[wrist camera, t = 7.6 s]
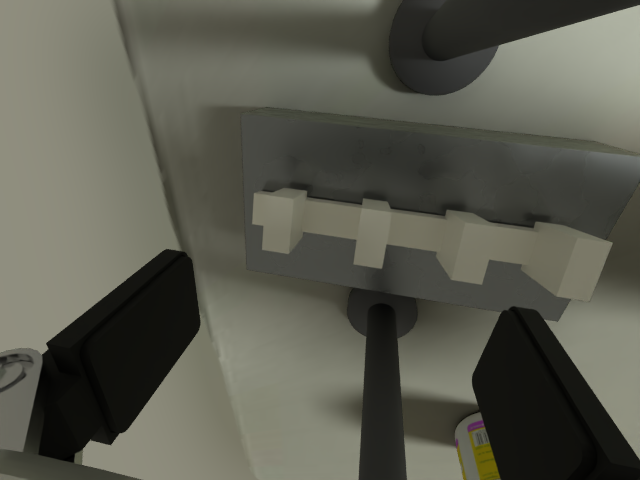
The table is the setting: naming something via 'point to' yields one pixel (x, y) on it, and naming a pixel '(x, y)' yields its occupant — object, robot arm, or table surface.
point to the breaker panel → (428, 196)
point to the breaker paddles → (437, 239)
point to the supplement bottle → (475, 450)
